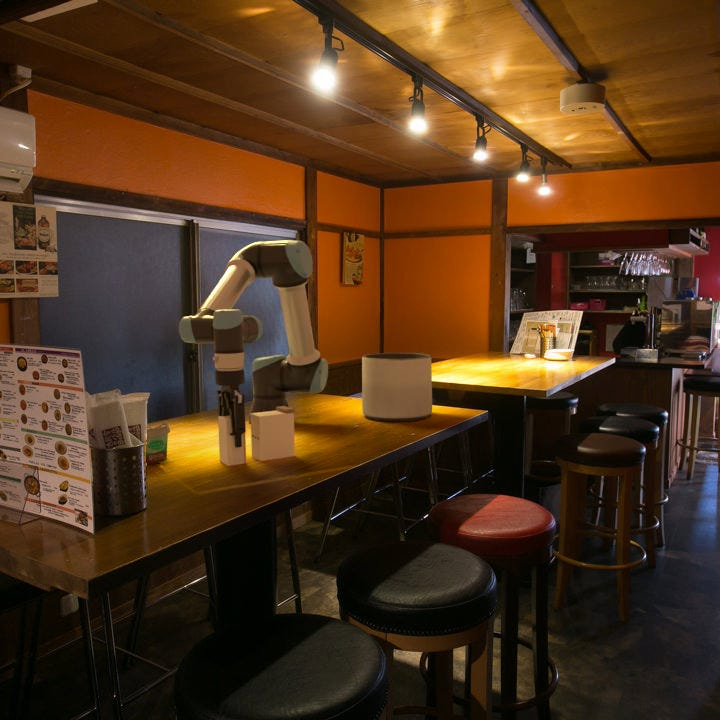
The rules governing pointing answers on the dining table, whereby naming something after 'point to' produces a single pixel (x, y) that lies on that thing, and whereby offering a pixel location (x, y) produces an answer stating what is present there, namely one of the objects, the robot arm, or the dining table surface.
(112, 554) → the dining table surface
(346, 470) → the dining table surface
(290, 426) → the cream rectangular box
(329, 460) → the dining table surface
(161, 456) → the food container
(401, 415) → the planter
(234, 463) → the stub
